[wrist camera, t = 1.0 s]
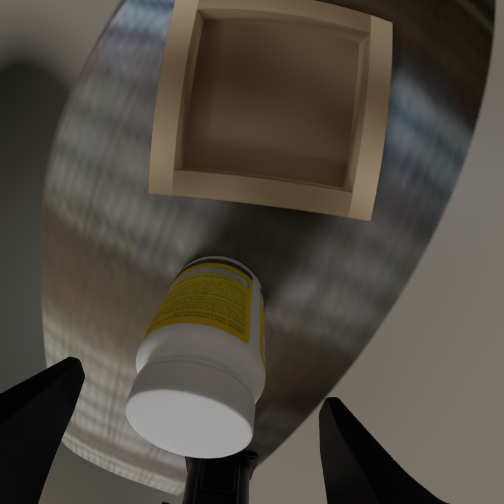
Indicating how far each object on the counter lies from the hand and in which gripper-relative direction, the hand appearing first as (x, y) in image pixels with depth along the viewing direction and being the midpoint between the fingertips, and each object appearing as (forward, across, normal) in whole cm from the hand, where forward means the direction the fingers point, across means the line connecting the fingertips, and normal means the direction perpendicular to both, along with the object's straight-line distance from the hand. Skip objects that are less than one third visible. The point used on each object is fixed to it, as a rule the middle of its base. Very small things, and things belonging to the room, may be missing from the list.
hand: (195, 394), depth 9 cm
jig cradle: (+7, -2, -10) cm, 12 cm away
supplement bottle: (+7, 0, 0) cm, 7 cm away
